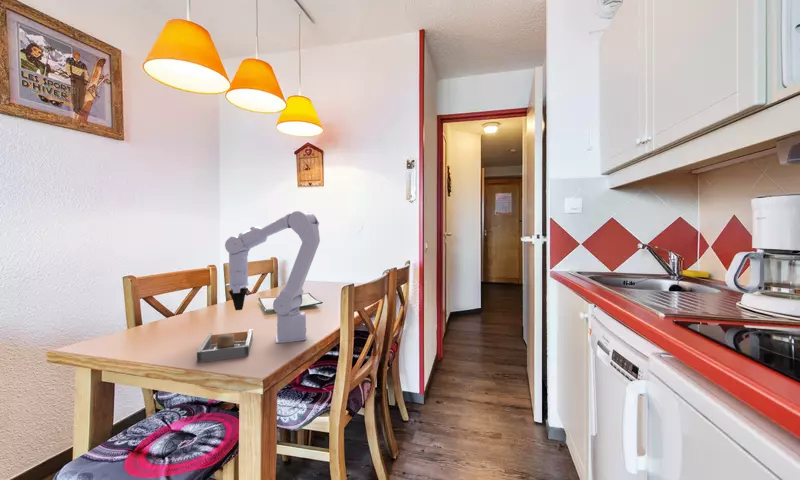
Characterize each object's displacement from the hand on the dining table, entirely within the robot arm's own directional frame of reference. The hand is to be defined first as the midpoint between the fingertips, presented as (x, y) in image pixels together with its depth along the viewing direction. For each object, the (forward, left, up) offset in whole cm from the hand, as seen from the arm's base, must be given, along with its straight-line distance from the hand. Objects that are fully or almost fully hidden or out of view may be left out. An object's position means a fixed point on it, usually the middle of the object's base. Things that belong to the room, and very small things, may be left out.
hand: (238, 309), depth 109 cm
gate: (+2, +8, -8) cm, 12 cm away
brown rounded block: (+2, +17, -9) cm, 19 cm away
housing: (+2, +12, -9) cm, 15 cm away
